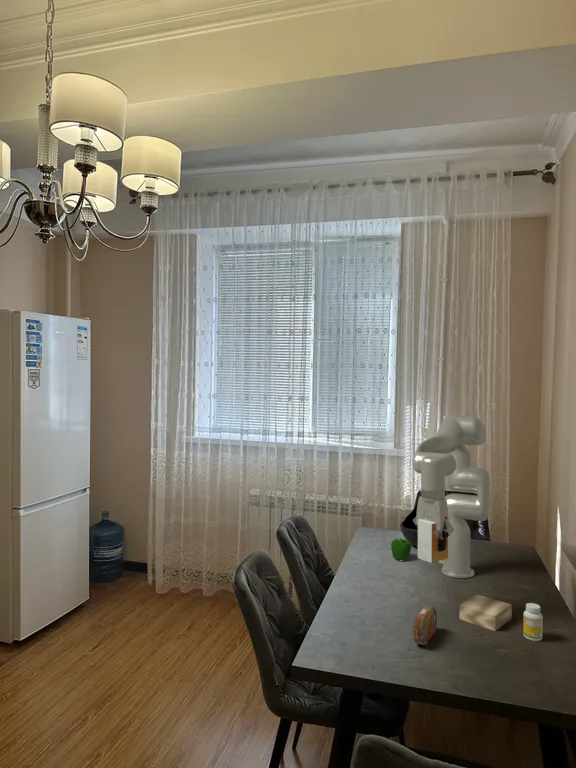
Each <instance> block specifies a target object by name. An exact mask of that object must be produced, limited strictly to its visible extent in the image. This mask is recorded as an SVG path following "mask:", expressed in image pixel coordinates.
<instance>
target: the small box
mask: <svg viewBox="0 0 576 768" xmlns="http://www.w3.org/2000/svg"><path fill="white" fill-rule="evenodd" d="M444 527H445V525H444ZM445 530H446V532H447V530H448V529H445ZM442 534H443V531H442ZM438 539H440V537H439V534H438V531H435V523H433V522H429V521H425V520H421V519H419V520H418V547H417V558H418V560H419V559H420V560H422V561H425V562H427V563H430V564H433V563H436V562H437V563H438V561H440V560H444V559H448V538H446V550H444V551H441V552H440V551H438Z"/></svg>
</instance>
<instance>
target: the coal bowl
mask: <svg viewBox="0 0 576 768" xmlns="http://www.w3.org/2000/svg"><path fill="white" fill-rule="evenodd" d="M416 516H417V505H416V506H414V509H412V510H411V512H410V513H408V514H407V516H406V517H404V520H403V521H402V522H400V523H399V524H400V525H399V526H400V531H401V534H402V535H403V537H404V538H405V540H407V541H409V542H410V543H411V546H415V547H416V548H418V529H417V527H416V525H415V523H414V522H413V519H414V518H415V517H416Z"/></svg>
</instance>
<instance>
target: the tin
mask: <svg viewBox="0 0 576 768" xmlns="http://www.w3.org/2000/svg"><path fill="white" fill-rule="evenodd" d="M437 619H438V618H437V611H436V608H435V607H434V606H428V605H426V606H423V607H422V609H421V610H420V611H419V613H418V614H417V615H416V616H415V618H414V621H413V627H412V629H413V641H414V642H415V643H416V644H418V645H422V646H424V645H425V643H426V642H427V641H428V640H429V639H430V638H431V637H433V636H434V635H435V633H436V629H437ZM433 634H434V635H433ZM430 640H431V639H430ZM430 640H429V641H430ZM425 646H426V645H425Z"/></svg>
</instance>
